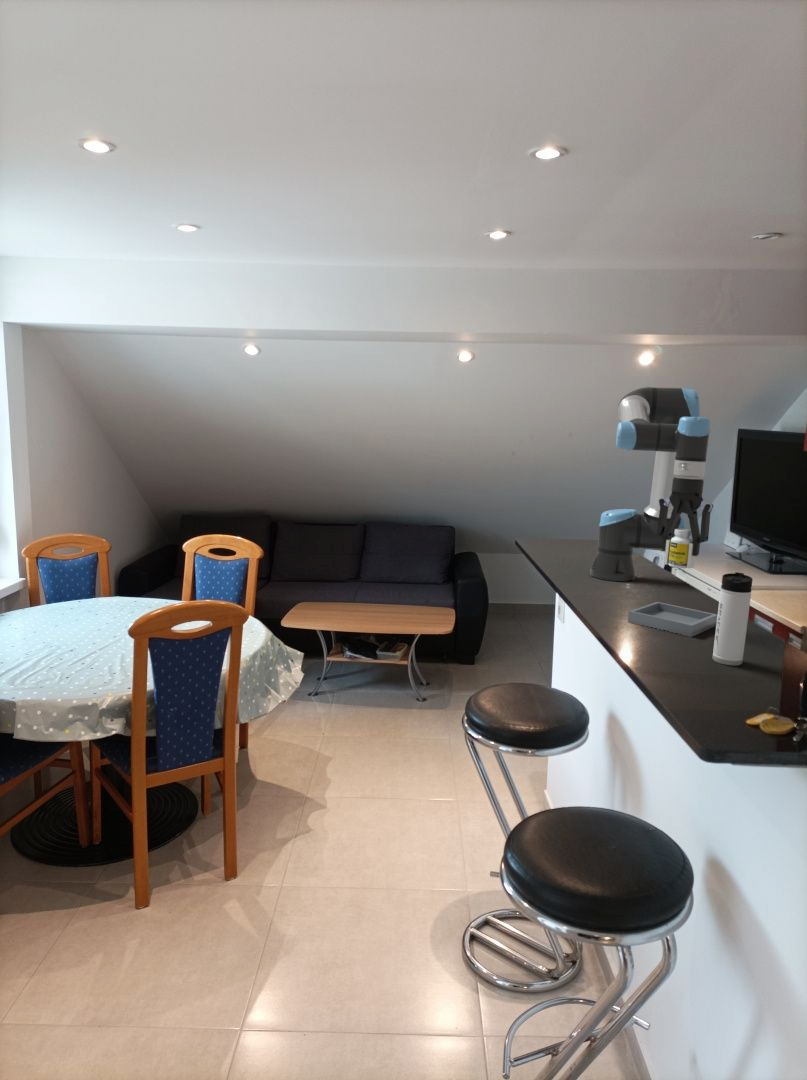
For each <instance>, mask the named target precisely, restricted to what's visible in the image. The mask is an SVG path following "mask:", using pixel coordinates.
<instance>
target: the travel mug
mask: <svg viewBox="0 0 807 1080" xmlns="http://www.w3.org/2000/svg"><path fill="white" fill-rule="evenodd" d="M720 586H721V587H720V593H719V599H718V600H719V601H718V606H717V607H718V609H717V615H718V616H717V624H716V626H715V634H714V642H713V650H712V651H713V652H712V660H713V661H714V662H716V663H718V664H719V665H720V664H721V665H724V666H732V667H733V666H740V665H742V664H743V661H744V652H745V645H746V636H747V628H748V620H749V614H750V606H751V598H752V586H753V577H751V576H750V575H746V574H745V573H743V572H737V571H735V572H734V573H733V572H731V573H725V574H722V578H721V585H720Z"/></svg>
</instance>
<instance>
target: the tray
mask: <svg viewBox="0 0 807 1080" xmlns="http://www.w3.org/2000/svg"><path fill="white" fill-rule="evenodd" d="M627 616H628V618H627V623H629V622H631V623H630V624H633V623H635V625H638V624H639V626H642V625H644V626H643V627H646V626H649V627H648V628H650V627H653V628H652V629H654V628H657V629H656V630H659V629H661V630H660V631H663V630H666V631H665V632H667V631H669V632H668V633H671V632H673V634H675V633H678V634H677V635H680V634H681V636H684V637H689V638H693V637H695V636H696V635H699V634H701V633H704V632H705V631H708V630H710V629H713V628H716V624H717V616H718V613H713V612H712V613H711V612H708V611H702V610H699V609H693V608H688V607H684V606H678V605H675V604H674V605H673V604H669V603H664V602H660V601H655V602H652V603H650V604H647V605H643V606H639V607H637V608H634V609H631V610H629V611H628V615H627Z"/></svg>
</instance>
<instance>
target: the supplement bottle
mask: <svg viewBox="0 0 807 1080" xmlns="http://www.w3.org/2000/svg"><path fill="white" fill-rule="evenodd" d="M674 533H675V537H673V538H672V539H671V543H670V552H669V561H668V564H667V565H669V567H672V568H676V569H688V568H687V561H688V552H689V543H692V542H693V541H692V538H690V537H691V536H692V535H691V529H687V528H683V529H675V532H674Z"/></svg>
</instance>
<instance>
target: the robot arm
mask: <svg viewBox="0 0 807 1080" xmlns="http://www.w3.org/2000/svg"><path fill="white" fill-rule="evenodd" d="M617 416H618V418H619V420H620V422H619V423H618V424H617V427H616V438H615V446H616V447H615V448H617V449H620V450H627V451H642V452H643V451H647V452H648V451H649V452H655V459H654V466H653V475H652V482H651V483H652V484H651V489H650V498H649V499H650V500H649V504H648V505H647V506H646V507H644V510H643V514H638V510H636V509H635V508H630V509H629V508H619V509H609V510H606V511H603V512H602V513H601V514H600V522H599V525H598V527H599V532H598V541H597V550H596V551H597V552H596V555H595V557H594V559H593V561H592V564H591V566H590V571H589V574H590V576H591V577H593V578H596V579H601V580H607V581H614V582H630V581H629V580H632V581H634V580H633V579H635V580H636V576H637V573H636V572H637V571H636V565H635V562H634V559H633V555H634V554H633V552H634V549H639V550H640V549H641V550H650V551H660V552H665V553H664V560H663V565H666V566H667V565H668V561H669V552H670V543H671V539H672V538H673V537H675V533H674V532H675V529H685V518H684V517H682V516H681V515H682V513H683V514H685V515H687V518H688V520H689V527H690V530H691V535H690V536H691V539H692V541H693V542H692V543H689V552H688V561H687V568H686V569H693V568H695V558H696V557H698V556H699V554H700V548H701V547H700V546H701V544H702V543H705V542H706V543H707V542H708V541H709V534H710V522H711V512H712V510H713V508H714V504H713V503H708V502H706V501H704V498H703V491H704V479H703V478H704V477H705V474H706V464H707V463H706V462H707V454H708V445H709V438H710V434H711V428H710V427H711V420H710V418H709V417H703V416H700V397H699V393H698V392H697V391H696V390H695V389H691V388H683V387H651V386H645V387H640V388H637V389H634V390H632V391H630V392H628V393H627V394H624V396H623V397H622V398H621V399H620V400H619V402H618V404H617ZM699 508H701V510H702V513H701V519H700V521H701V522H700V523H701V524H699V520H698V519H699V518H698V509H699ZM699 525H700V526H699Z"/></svg>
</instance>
